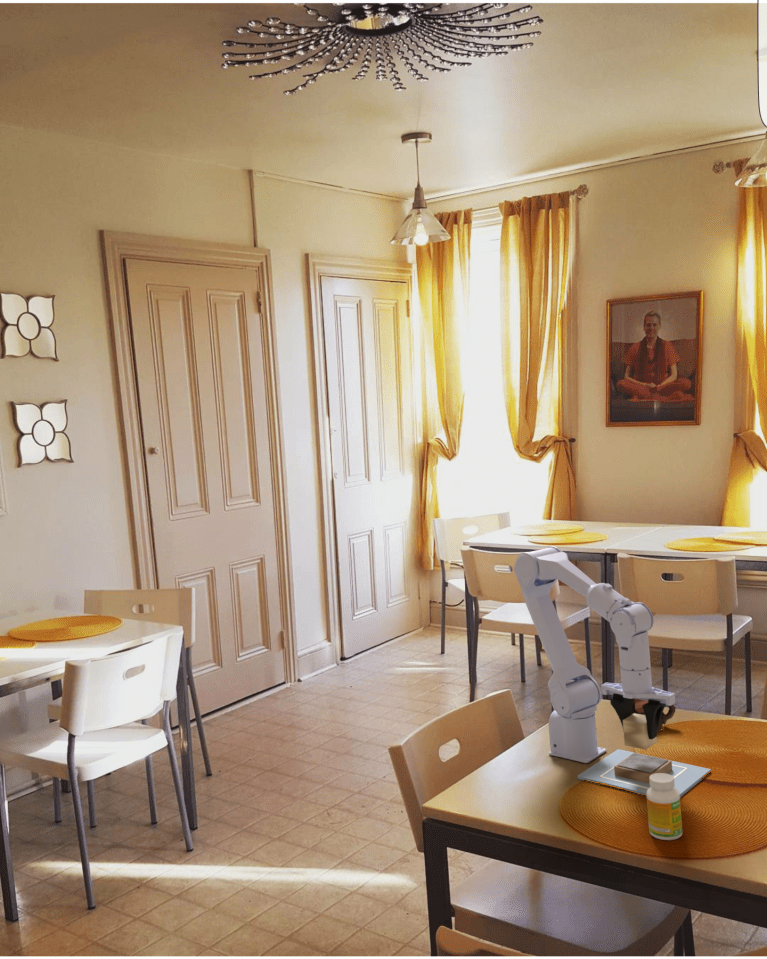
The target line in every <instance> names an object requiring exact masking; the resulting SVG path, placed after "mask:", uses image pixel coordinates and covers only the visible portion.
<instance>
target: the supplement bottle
mask: <svg viewBox="0 0 767 959" xmlns="http://www.w3.org/2000/svg"><path fill="white" fill-rule="evenodd" d="M649 781H650V786H651V787H650V788H649V789H648V790H647V793H646V795H647V796H646V804H647V805H646V807H647V818H648V819H647V822H648V830H649V834H650V835H651V836H652V837H654V838H655V839H657V840H658V839H659V840H663V841H674V840H677V839H679V838H680V837H682V835H683V820H682V810H681V809H682V808H681V806H682V805H681V797H680V794H679V792H678V790H677V789H676V788H674V787H675V784H674V777H673V776H672V775H670V774H666V773H655V774H652V775H651V776H650V777H649Z"/></svg>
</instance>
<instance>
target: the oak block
mask: <svg viewBox="0 0 767 959" xmlns="http://www.w3.org/2000/svg"><path fill="white" fill-rule="evenodd" d="M622 729H624V730H623V738H624V746H626V747H631V748H635V749H641V750H645V751H646V750H648V749H650V748H651V747H652V746H654V745H655V744H657V743H658V736H657V737H655V738H654V739H649V737H648V732H647V721H646V717H645V715H641V714H635V713H634V714H632V715H631V716H629V717H627V718H626V719H624V720H623V726H622Z"/></svg>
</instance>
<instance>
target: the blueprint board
mask: <svg viewBox="0 0 767 959" xmlns="http://www.w3.org/2000/svg"><path fill="white" fill-rule="evenodd" d="M710 771H711V772H712V769H711V768H707V767H702V766H698V765H694V764H689V763H685V762H684V763H683V762H681V761H680V762H679V761H673V760H671V759H665V758H661V757H657V756H651V755H647V754H642V753H638V752H634V751H630V750H629V751H628V750H624V749H619V748H617V749H616V750H615V751H613V752H611V753H610V754H608V755H607V756H605V757H603V758H602V759H600V760H599V761H598V762H596V763H595V764H593V765H592V766H590V767H588V768H586V769H585V770H584V771H582V772H581V773H580V774H577V776H576V777H577V780H580V781H584V780H590V781H594V782H599V783H605V784H608V785H612V786H616V787H620V788H623V789H626V790H629V791H633V792H636V793H640V794H643V795H646V793H647V790H648V789H649V788H650V787H651V786H650V781H649V777H650V776H651V775H652V774H655V773H666V774H670V775H672V776H673V777H674V784H675V787H674V788H676V789H677V790H678V792H679V794H680V798H682V797H683V796H684V795H685V794H687V792H689V791H690V790H692V788H694V787H695V786H696V785H697V784H698V783H700V782H701V781H702V780H703V779H702V777H703V776H704V775H706V774H707V773H708V772H710ZM643 795H642V796H643Z"/></svg>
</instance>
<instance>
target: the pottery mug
mask: <svg viewBox="0 0 767 959" xmlns="http://www.w3.org/2000/svg"><path fill="white" fill-rule="evenodd" d="M646 703H648V701H646V700H640V699H634V698H633V705H632V714H634V713H635V714H641V715H645V713H644V710H643V707H642V706H643V705H644V704H646ZM665 707H668V711H667V713H665V712H664V711H663V712H662V715H661V718H660V721H659V725H658V730H657V732H660V731H659V730H661V729H664V728H663V725H666V724H667V722H668V721H669V720H670V719H672V718H673V717H674V715H675V713H676V706H675V705H674V704H673V705H671V706H668V705H666V706H665ZM661 731H662V730H661Z"/></svg>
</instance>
